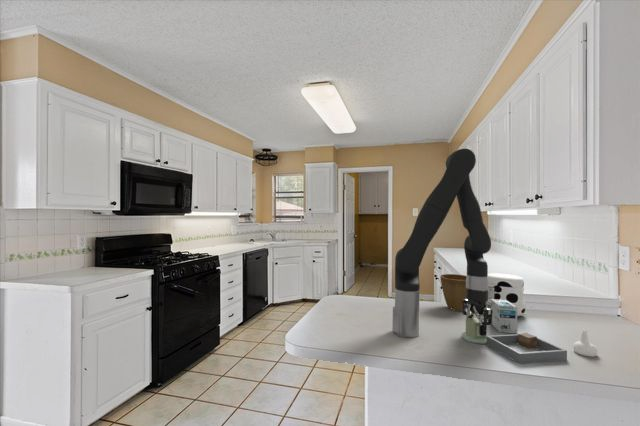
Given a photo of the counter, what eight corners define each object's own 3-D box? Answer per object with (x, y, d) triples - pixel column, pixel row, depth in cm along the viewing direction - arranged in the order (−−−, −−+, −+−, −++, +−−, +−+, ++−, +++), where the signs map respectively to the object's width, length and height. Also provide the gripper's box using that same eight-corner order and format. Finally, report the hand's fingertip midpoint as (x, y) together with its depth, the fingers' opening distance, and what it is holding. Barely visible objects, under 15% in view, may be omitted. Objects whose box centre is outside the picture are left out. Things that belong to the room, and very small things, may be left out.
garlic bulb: (597, 355, 105) (597, 331, 105) (597, 359, 100) (597, 334, 101) (573, 349, 109) (573, 326, 110) (572, 353, 104) (572, 329, 105)
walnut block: (528, 349, 107) (528, 337, 107) (518, 344, 111) (518, 333, 111) (536, 348, 109) (537, 336, 109) (526, 343, 112) (526, 332, 112)
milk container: (528, 314, 148) (528, 276, 148) (522, 323, 135) (522, 281, 135) (488, 306, 159) (488, 271, 159) (479, 314, 146) (479, 276, 146)
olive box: (465, 334, 118) (465, 318, 118) (477, 333, 119) (477, 317, 119) (474, 339, 113) (475, 323, 113) (486, 338, 114) (486, 322, 114)
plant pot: (437, 303, 163) (437, 273, 163) (467, 305, 160) (467, 274, 160) (442, 311, 149) (443, 278, 149) (475, 314, 146) (476, 280, 146)
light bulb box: (517, 334, 121) (518, 306, 122) (499, 332, 123) (499, 305, 123) (507, 324, 132) (507, 299, 132) (490, 323, 133) (490, 298, 133)
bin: (519, 363, 96) (519, 353, 96) (486, 344, 111) (486, 335, 111) (566, 359, 99) (566, 350, 99) (528, 341, 114) (528, 333, 114)
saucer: (473, 344, 110) (473, 342, 110) (456, 334, 120) (456, 332, 120) (497, 343, 112) (497, 341, 112) (479, 333, 121) (479, 331, 121)
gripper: (456, 283, 122) (455, 325, 122) (481, 292, 108) (480, 339, 108) (473, 283, 124) (472, 324, 123) (499, 291, 110) (499, 338, 109)
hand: (476, 331), depth 116 cm, fingers open, 6 cm apart
